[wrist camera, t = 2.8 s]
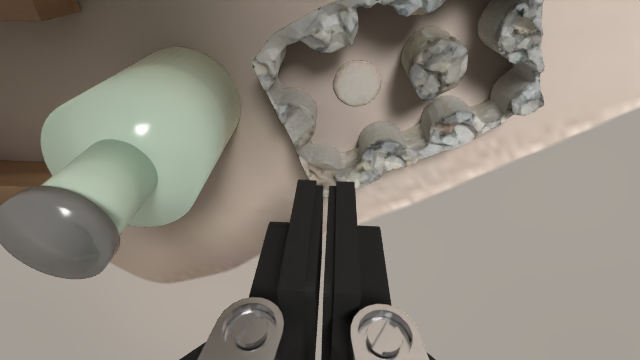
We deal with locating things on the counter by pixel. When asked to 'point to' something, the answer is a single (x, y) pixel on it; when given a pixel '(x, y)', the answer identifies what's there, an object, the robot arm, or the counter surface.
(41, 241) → the bottle
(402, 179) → the counter surface
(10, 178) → the rest
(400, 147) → the egg carton
